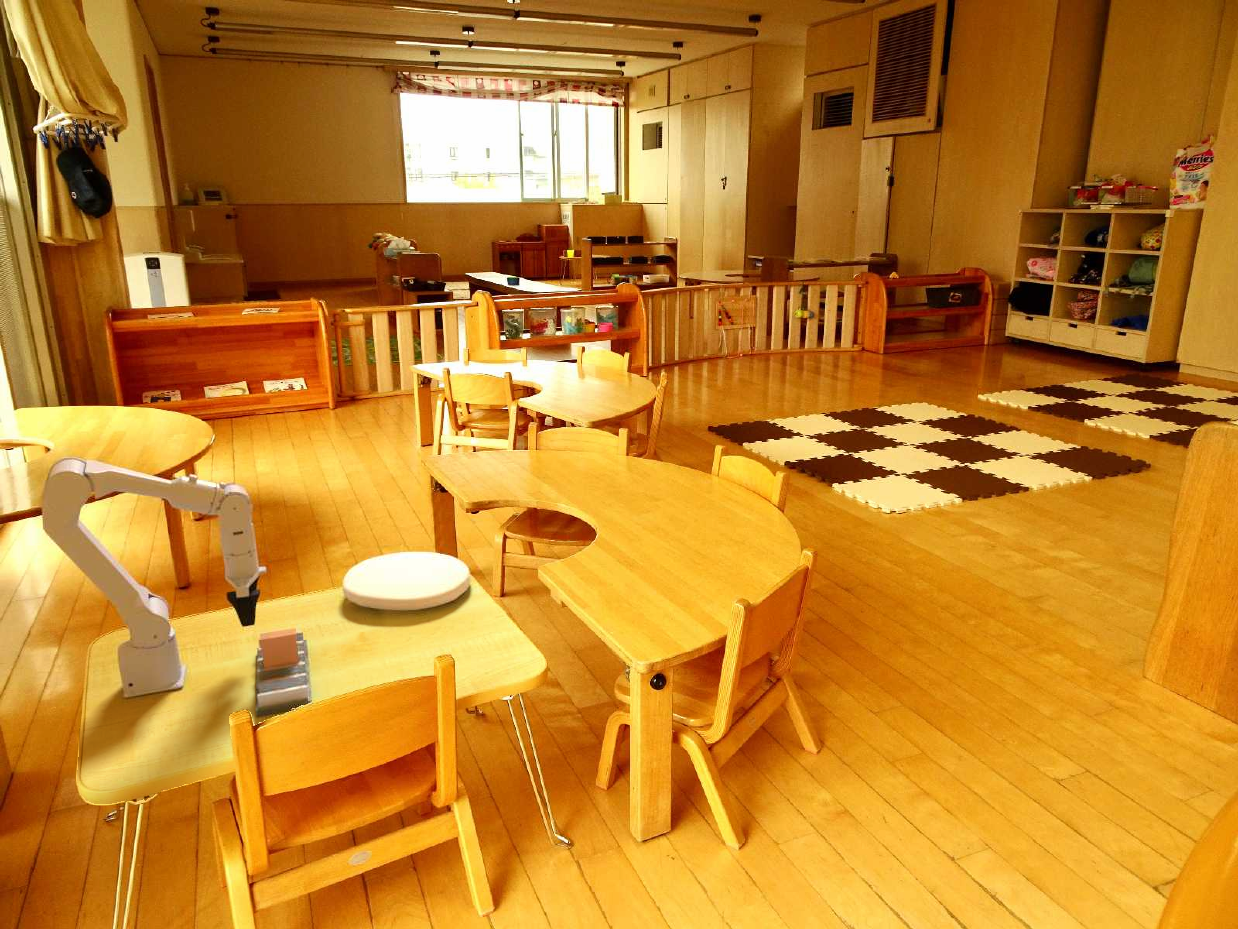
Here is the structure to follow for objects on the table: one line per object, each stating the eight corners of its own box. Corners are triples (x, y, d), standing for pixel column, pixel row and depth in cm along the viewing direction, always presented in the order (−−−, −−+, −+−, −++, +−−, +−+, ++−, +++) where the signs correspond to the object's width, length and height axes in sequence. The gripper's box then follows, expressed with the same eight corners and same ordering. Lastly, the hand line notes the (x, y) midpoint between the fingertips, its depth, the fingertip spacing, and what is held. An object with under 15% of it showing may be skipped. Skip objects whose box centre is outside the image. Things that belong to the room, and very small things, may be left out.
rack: (256, 717, 145) (254, 699, 144) (258, 653, 166) (255, 637, 165) (312, 706, 148) (310, 688, 147) (306, 645, 169) (304, 628, 168)
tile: (265, 679, 154) (260, 640, 152) (265, 672, 157) (260, 633, 154) (300, 672, 157) (295, 634, 154) (300, 666, 159) (295, 628, 156)
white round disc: (464, 544, 207) (478, 590, 182) (463, 568, 209) (476, 618, 184) (344, 544, 199) (341, 593, 174) (343, 570, 200) (340, 622, 176)
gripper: (262, 561, 151) (271, 629, 155) (263, 532, 164) (271, 596, 168) (219, 567, 149) (229, 636, 153) (223, 538, 162) (232, 602, 166)
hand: (248, 616), depth 160 cm, fingers open, 7 cm apart
